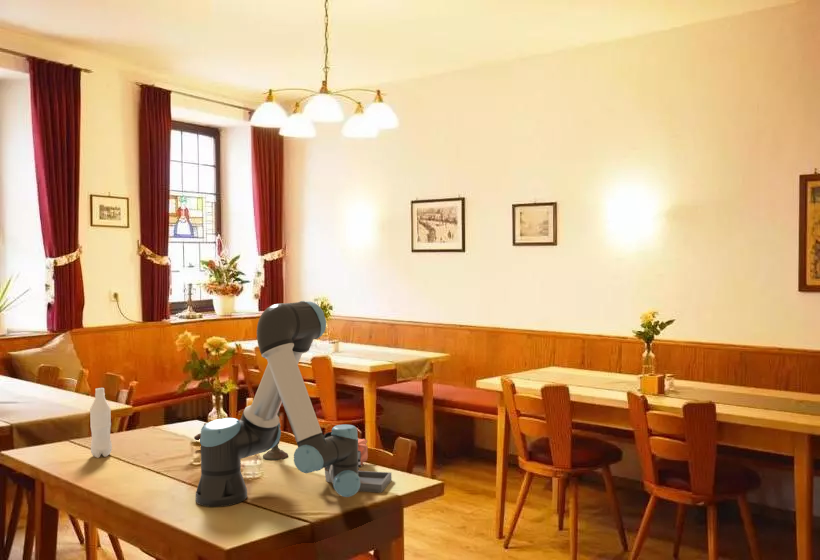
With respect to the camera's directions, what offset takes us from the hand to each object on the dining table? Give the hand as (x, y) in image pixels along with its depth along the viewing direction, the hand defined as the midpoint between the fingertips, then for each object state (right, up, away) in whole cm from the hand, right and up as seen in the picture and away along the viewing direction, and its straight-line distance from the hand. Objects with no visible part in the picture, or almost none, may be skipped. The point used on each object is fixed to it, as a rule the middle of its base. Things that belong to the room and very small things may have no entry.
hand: (332, 450), depth 244 cm
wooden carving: (-49, -8, +39) cm, 63 cm away
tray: (+12, -9, -10) cm, 18 cm away
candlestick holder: (-23, -8, +24) cm, 34 cm away
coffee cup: (+1, -9, -4) cm, 10 cm away
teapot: (+5, -8, +12) cm, 16 cm away
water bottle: (-88, -8, +27) cm, 93 cm away
